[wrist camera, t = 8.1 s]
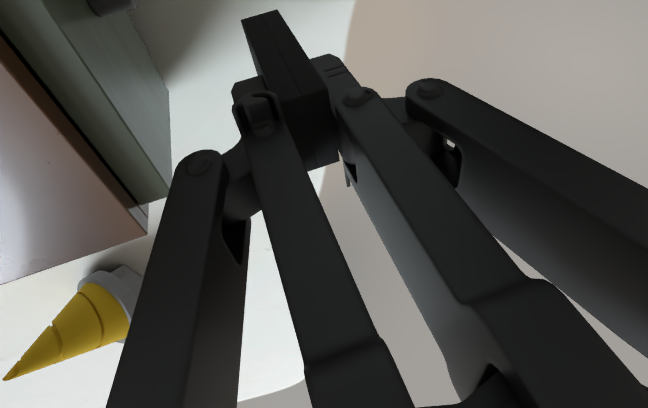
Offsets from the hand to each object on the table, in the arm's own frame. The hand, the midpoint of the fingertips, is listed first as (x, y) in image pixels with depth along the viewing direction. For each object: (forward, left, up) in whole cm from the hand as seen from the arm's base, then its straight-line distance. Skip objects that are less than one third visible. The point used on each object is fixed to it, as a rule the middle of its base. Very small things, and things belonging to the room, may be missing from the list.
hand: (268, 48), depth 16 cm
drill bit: (+22, -1, -4) cm, 22 cm away
